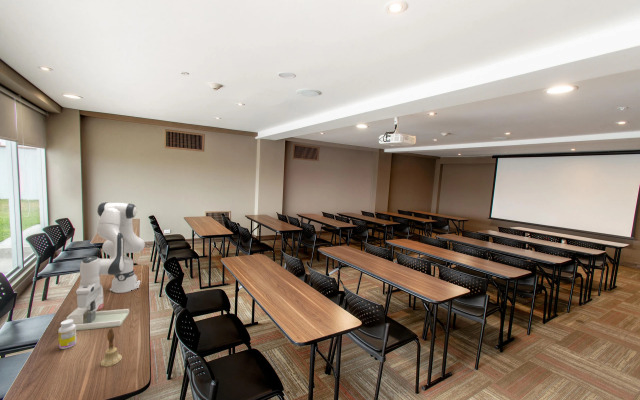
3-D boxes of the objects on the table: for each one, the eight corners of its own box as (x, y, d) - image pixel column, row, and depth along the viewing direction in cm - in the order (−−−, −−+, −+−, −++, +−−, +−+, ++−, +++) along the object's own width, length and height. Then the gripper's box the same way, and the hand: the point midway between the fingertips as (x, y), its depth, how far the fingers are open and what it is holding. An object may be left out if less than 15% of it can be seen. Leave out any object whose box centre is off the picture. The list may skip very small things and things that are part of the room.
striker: (90, 318, 162) (90, 301, 161) (96, 318, 163) (96, 300, 162) (86, 323, 157) (85, 305, 156) (92, 322, 158) (92, 304, 157)
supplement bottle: (62, 342, 141) (61, 319, 140) (78, 340, 143) (78, 317, 142) (56, 350, 135) (55, 326, 133) (73, 348, 137) (72, 323, 136)
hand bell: (97, 368, 124) (97, 335, 123) (103, 357, 132) (103, 325, 131) (119, 364, 128) (119, 332, 126) (124, 353, 135) (124, 323, 134)
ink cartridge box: (97, 306, 179) (97, 284, 178) (103, 307, 178) (103, 285, 177) (83, 312, 171) (83, 289, 169) (90, 313, 170) (90, 290, 169)
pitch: (78, 317, 164) (78, 305, 164) (129, 313, 172) (128, 301, 172) (64, 331, 150) (64, 318, 149) (120, 325, 158) (119, 313, 158)
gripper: (92, 278, 167) (92, 300, 168) (74, 292, 148) (74, 317, 149) (104, 278, 169) (104, 299, 170) (88, 291, 150) (88, 315, 151)
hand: (90, 307), depth 159 cm, fingers closed on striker, 3 cm apart
